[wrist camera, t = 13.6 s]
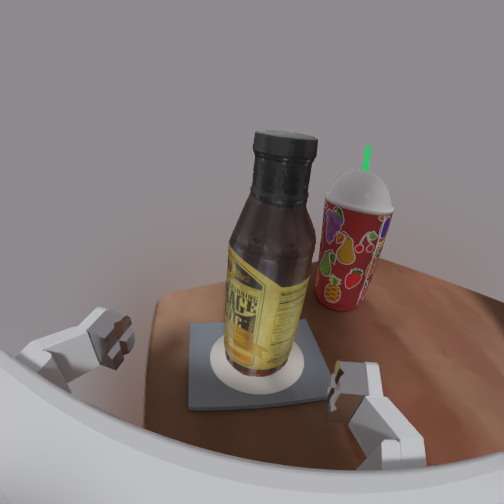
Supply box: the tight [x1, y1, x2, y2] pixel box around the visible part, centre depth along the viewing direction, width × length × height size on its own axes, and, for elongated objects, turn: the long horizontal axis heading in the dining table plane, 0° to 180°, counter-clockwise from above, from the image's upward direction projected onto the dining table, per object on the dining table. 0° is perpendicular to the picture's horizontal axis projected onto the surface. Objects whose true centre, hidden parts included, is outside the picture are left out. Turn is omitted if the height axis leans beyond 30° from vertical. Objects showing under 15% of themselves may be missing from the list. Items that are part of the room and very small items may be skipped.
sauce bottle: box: [224, 130, 318, 377], centre depth 22 cm, size 6×6×20 cm
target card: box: [188, 319, 331, 411], centre depth 27 cm, size 13×11×1 cm
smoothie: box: [315, 146, 395, 311], centre depth 33 cm, size 8×8×20 cm
